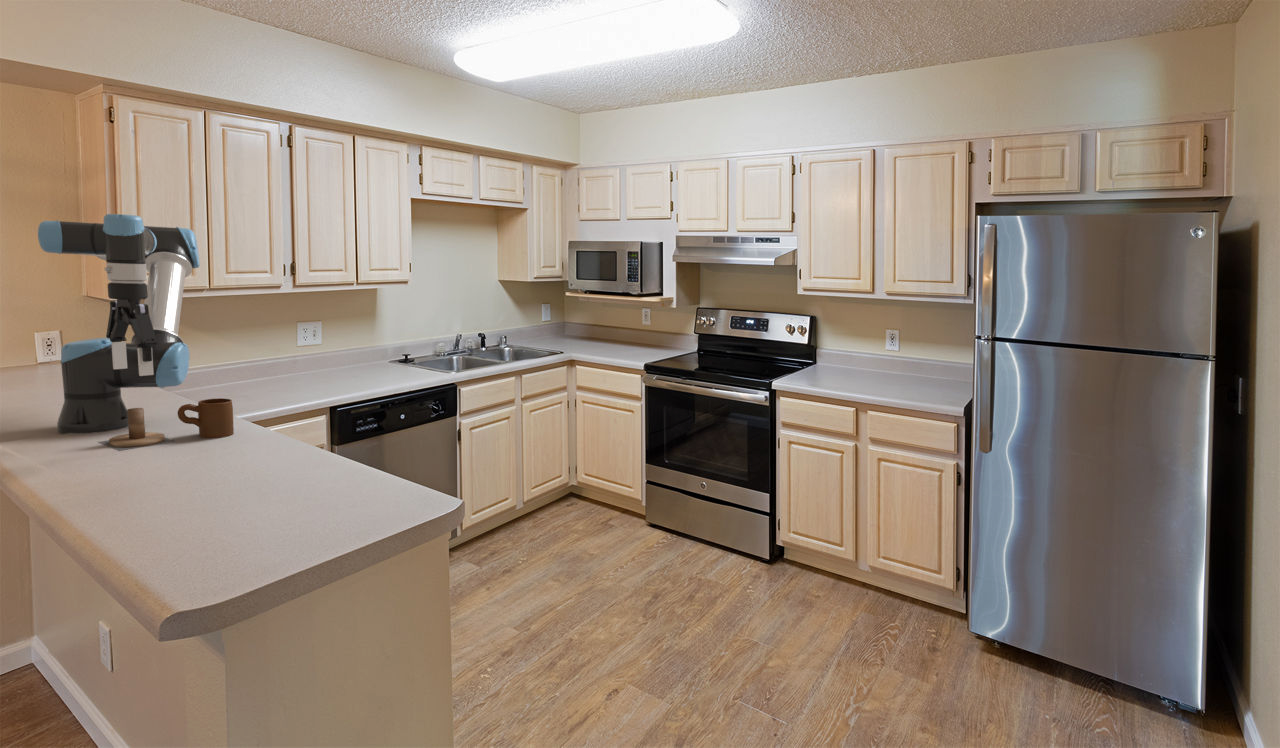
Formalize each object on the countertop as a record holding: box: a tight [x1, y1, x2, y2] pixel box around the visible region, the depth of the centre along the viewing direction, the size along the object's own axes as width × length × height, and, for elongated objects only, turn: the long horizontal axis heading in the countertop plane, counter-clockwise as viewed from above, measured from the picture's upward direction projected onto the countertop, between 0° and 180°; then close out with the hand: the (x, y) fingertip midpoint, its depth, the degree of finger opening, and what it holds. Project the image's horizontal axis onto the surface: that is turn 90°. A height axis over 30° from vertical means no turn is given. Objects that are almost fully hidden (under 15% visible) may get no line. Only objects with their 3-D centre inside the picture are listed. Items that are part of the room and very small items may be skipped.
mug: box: [177, 398, 235, 439], centre depth 178 cm, size 12×8×9 cm, turn 131°
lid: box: [108, 407, 166, 448], centre depth 170 cm, size 11×11×8 cm
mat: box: [97, 436, 177, 452], centre depth 171 cm, size 12×12×1 cm
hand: (133, 372), depth 168 cm, fingers open, 13 cm apart
